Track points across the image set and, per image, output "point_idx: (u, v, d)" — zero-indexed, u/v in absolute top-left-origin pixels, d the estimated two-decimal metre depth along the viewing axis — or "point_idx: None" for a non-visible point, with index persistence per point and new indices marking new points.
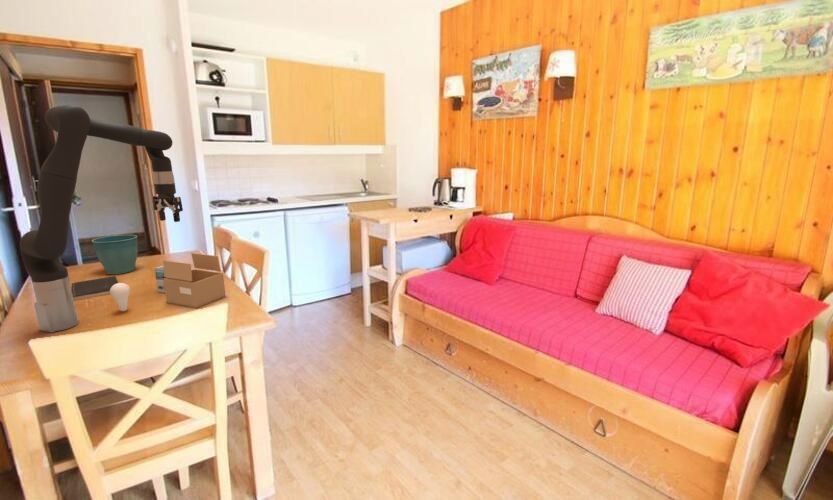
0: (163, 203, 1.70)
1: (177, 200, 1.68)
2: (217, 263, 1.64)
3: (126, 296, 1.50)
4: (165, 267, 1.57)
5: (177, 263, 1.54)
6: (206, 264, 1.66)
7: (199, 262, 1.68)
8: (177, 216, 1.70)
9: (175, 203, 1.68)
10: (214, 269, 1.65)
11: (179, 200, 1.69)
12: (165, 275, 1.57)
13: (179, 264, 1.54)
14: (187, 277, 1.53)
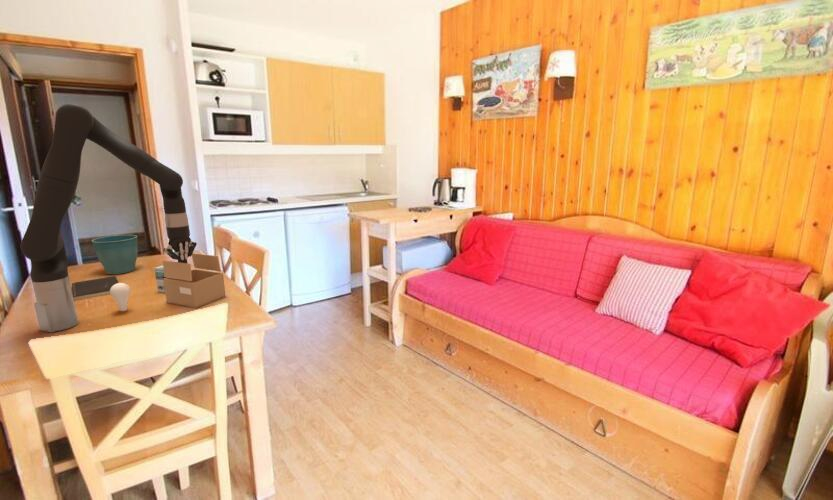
0: (182, 245, 1.55)
1: None
2: (217, 263, 1.64)
3: (126, 296, 1.50)
4: (165, 267, 1.57)
5: (177, 263, 1.54)
6: (206, 264, 1.66)
7: (199, 262, 1.68)
8: None
9: (193, 248, 1.59)
10: (214, 269, 1.65)
11: None
12: (165, 275, 1.57)
13: (179, 264, 1.53)
14: (187, 277, 1.53)
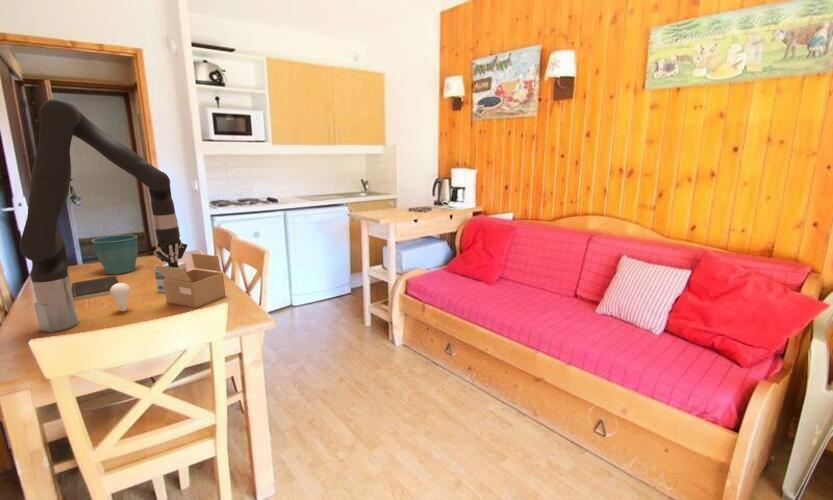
0: (172, 247, 1.51)
1: None
2: (217, 263, 1.64)
3: (126, 296, 1.50)
4: (160, 270, 1.55)
5: (169, 268, 1.51)
6: (206, 264, 1.66)
7: (199, 262, 1.68)
8: None
9: (184, 250, 1.55)
10: (214, 269, 1.65)
11: None
12: (164, 276, 1.57)
13: (171, 269, 1.51)
14: (185, 279, 1.52)
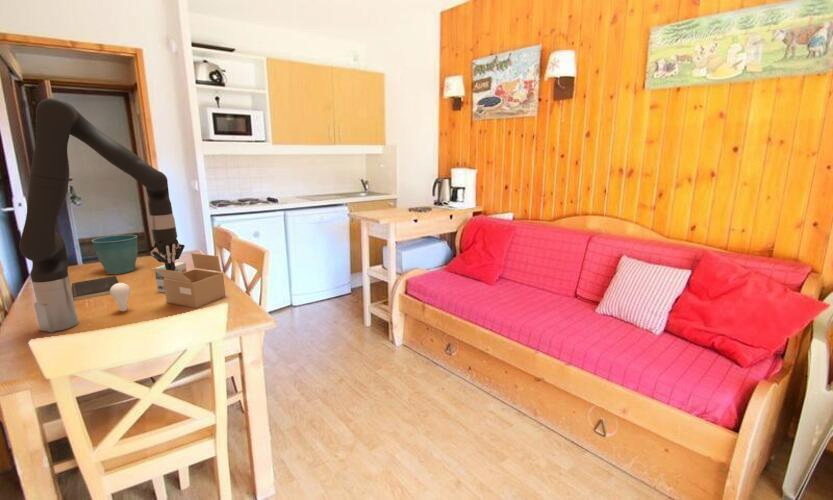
0: (169, 248, 1.50)
1: None
2: (217, 263, 1.64)
3: (126, 296, 1.50)
4: (158, 272, 1.54)
5: (166, 271, 1.50)
6: (206, 264, 1.66)
7: (199, 262, 1.68)
8: None
9: (181, 250, 1.54)
10: (214, 269, 1.65)
11: None
12: (164, 276, 1.57)
13: (169, 271, 1.50)
14: (185, 279, 1.52)
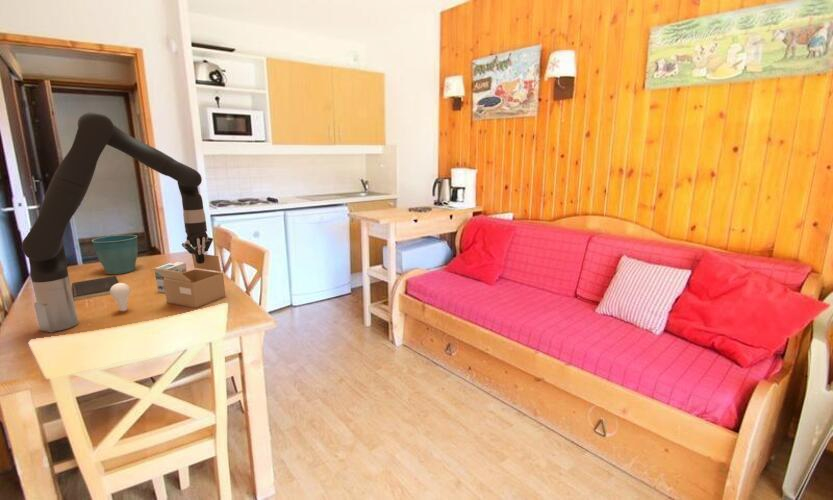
0: None
1: None
2: (217, 263, 1.64)
3: (126, 296, 1.50)
4: (158, 272, 1.54)
5: (166, 271, 1.50)
6: (206, 264, 1.66)
7: None
8: None
9: (209, 243, 1.66)
10: (214, 269, 1.66)
11: None
12: (164, 276, 1.57)
13: (169, 271, 1.50)
14: (185, 279, 1.52)
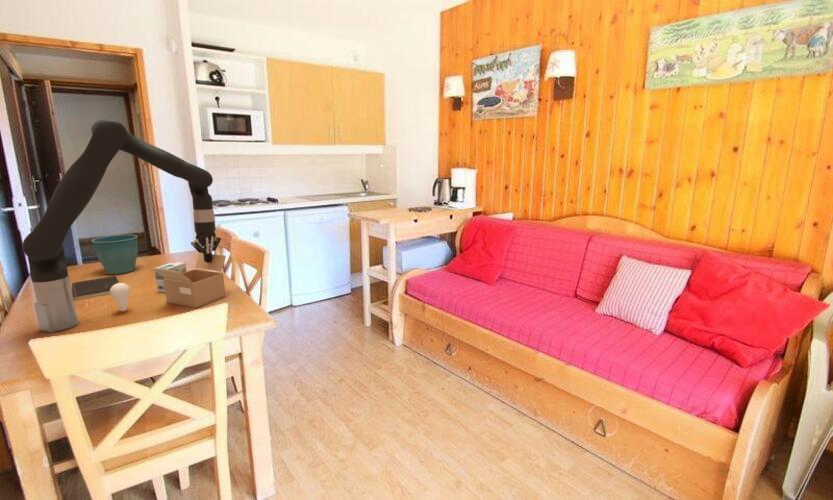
0: (208, 240, 1.65)
1: None
2: (221, 262, 1.66)
3: (126, 296, 1.50)
4: (158, 272, 1.54)
5: (166, 271, 1.50)
6: (209, 264, 1.68)
7: (203, 261, 1.69)
8: None
9: (217, 243, 1.69)
10: (215, 269, 1.66)
11: None
12: (164, 276, 1.57)
13: (169, 271, 1.50)
14: (185, 279, 1.52)
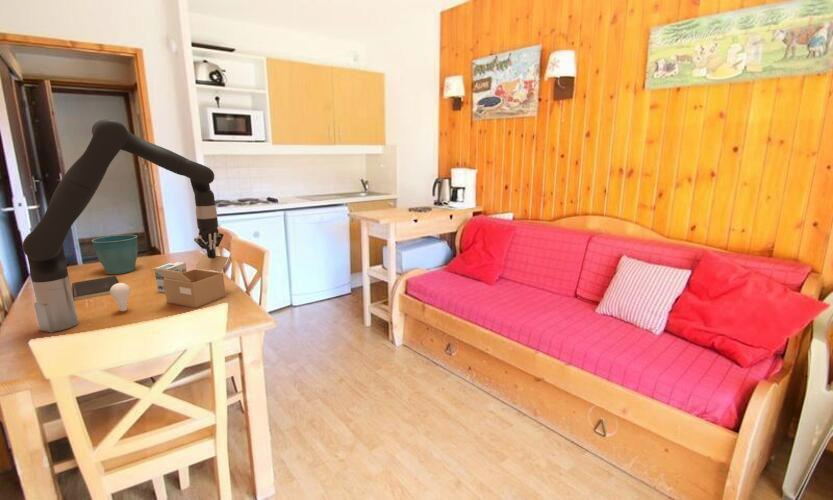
0: (211, 236, 1.66)
1: None
2: (223, 263, 1.66)
3: (126, 296, 1.50)
4: (158, 272, 1.54)
5: (166, 271, 1.50)
6: (210, 264, 1.68)
7: (204, 262, 1.70)
8: None
9: (220, 239, 1.71)
10: (215, 269, 1.66)
11: None
12: (164, 276, 1.57)
13: (169, 271, 1.50)
14: (185, 279, 1.52)
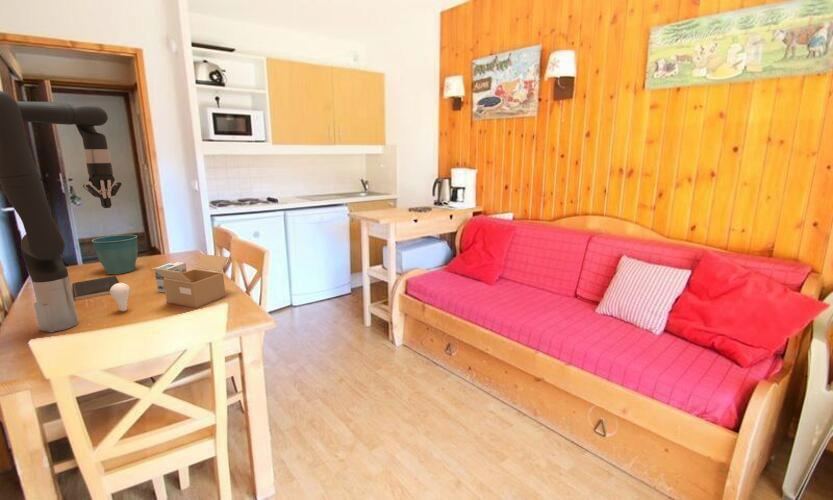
0: (104, 183, 1.54)
1: None
2: (223, 263, 1.66)
3: (126, 296, 1.50)
4: (158, 272, 1.54)
5: (166, 271, 1.50)
6: (210, 264, 1.68)
7: (204, 262, 1.70)
8: None
9: (117, 188, 1.59)
10: (215, 269, 1.66)
11: None
12: (164, 276, 1.57)
13: (169, 271, 1.50)
14: (185, 279, 1.52)
